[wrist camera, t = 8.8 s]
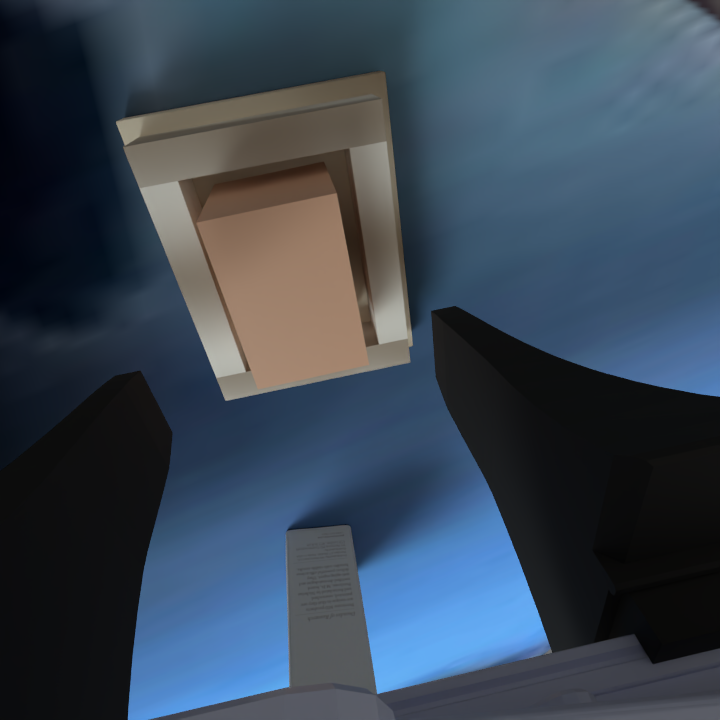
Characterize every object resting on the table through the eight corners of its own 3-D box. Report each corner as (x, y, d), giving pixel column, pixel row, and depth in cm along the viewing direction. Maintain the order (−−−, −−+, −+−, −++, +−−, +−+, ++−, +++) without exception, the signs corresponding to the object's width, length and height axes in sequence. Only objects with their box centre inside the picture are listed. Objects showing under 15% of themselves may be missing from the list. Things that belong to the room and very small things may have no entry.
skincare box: (348, 577, 33) (378, 801, 23) (287, 583, 32) (291, 817, 23) (352, 521, 30) (389, 755, 20) (284, 527, 29) (288, 772, 19)
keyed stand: (407, 335, 23) (423, 370, 20) (223, 373, 22) (216, 413, 20) (379, 70, 16) (397, 74, 14) (124, 117, 16) (95, 130, 14)
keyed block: (323, 161, 17) (336, 193, 13) (352, 307, 20) (369, 364, 16) (214, 184, 17) (196, 222, 13) (261, 326, 20) (258, 389, 16)
